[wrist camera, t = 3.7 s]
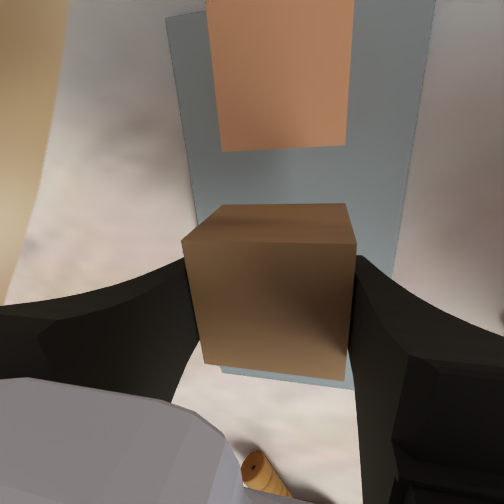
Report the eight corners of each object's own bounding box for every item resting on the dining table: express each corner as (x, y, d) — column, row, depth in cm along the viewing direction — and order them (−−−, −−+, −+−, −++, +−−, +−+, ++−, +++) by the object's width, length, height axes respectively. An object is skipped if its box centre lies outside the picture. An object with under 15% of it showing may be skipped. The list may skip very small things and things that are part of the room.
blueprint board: (372, 388, 21) (373, 392, 21) (223, 369, 24) (221, 372, 24) (437, -27, 11) (441, -32, 11) (169, 20, 14) (164, 17, 14)
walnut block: (337, 309, 13) (344, 381, 9) (233, 301, 14) (204, 363, 10) (345, 203, 11) (357, 244, 7) (222, 204, 12) (181, 240, 8)
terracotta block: (339, 138, 14) (344, 145, 11) (244, 144, 15) (221, 152, 12) (345, 15, 12) (356, -27, 9) (235, 32, 13) (205, 1, 10)
